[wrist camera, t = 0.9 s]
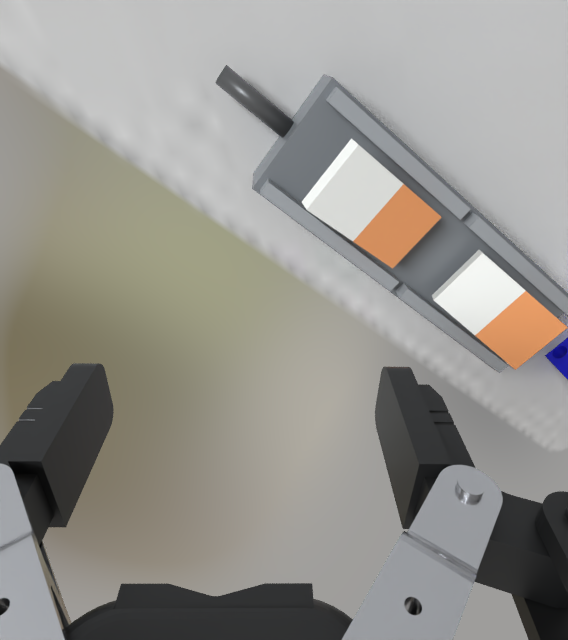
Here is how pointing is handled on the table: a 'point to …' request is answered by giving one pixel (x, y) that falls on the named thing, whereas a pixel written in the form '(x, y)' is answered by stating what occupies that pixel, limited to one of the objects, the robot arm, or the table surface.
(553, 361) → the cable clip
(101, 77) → the table surface
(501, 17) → the table surface
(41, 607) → the robot arm
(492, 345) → the block
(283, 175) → the box
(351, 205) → the rocker
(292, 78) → the table surface
